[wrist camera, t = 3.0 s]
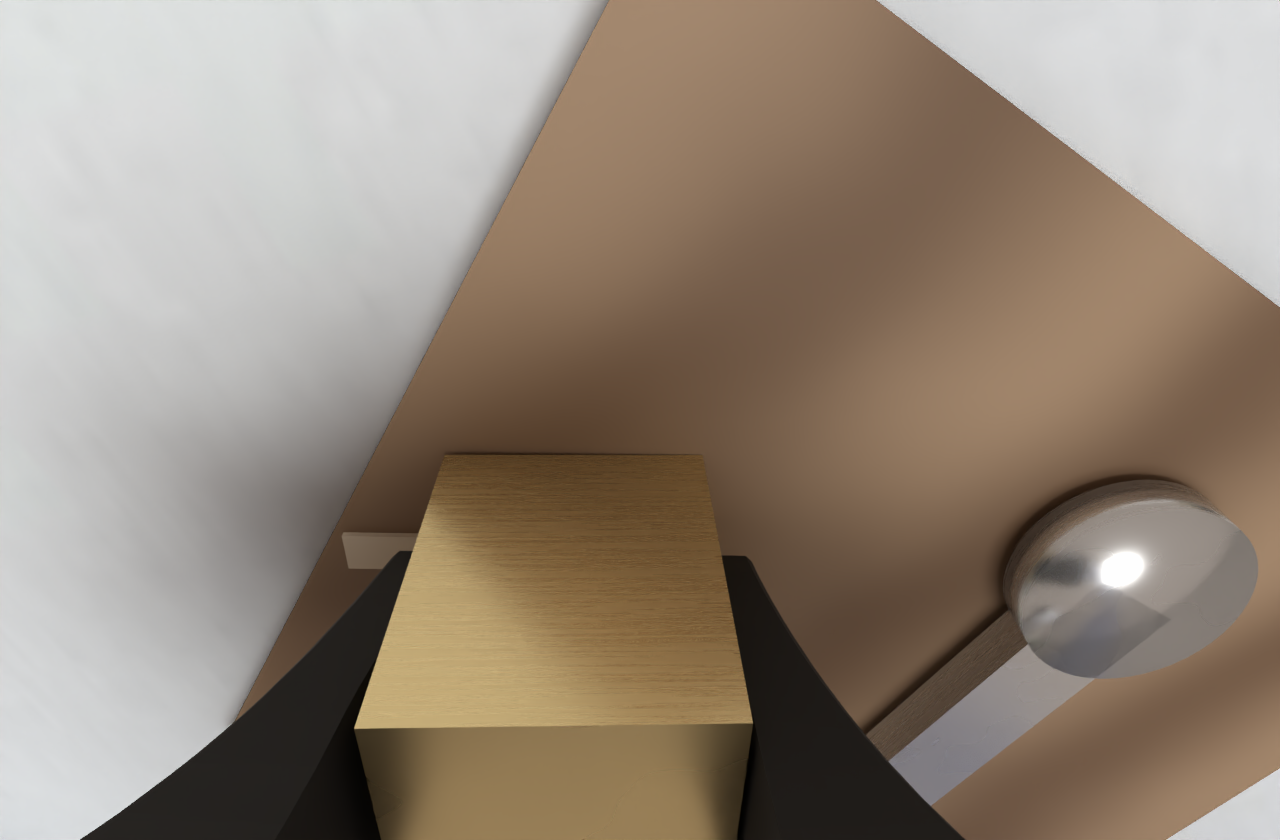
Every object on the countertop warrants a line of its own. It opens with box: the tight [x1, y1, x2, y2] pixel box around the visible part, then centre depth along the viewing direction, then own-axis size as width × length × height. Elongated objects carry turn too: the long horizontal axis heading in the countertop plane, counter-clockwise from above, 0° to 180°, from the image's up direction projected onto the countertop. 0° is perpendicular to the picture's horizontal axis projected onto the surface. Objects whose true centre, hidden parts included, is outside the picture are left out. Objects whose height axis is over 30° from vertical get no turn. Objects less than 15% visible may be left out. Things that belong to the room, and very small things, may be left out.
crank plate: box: [235, 0, 1280, 840], centre depth 15 cm, size 19×18×1 cm
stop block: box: [354, 455, 753, 840], centre depth 11 cm, size 4×4×5 cm
